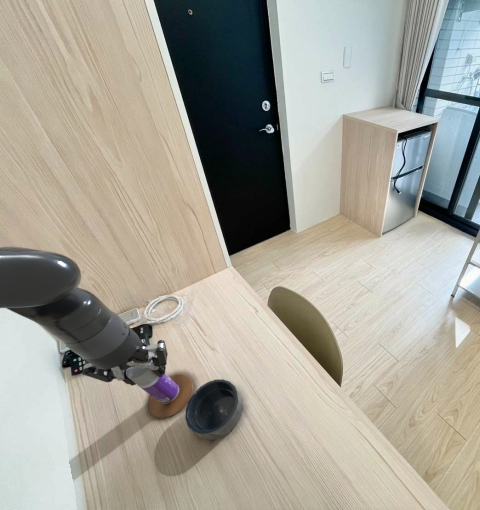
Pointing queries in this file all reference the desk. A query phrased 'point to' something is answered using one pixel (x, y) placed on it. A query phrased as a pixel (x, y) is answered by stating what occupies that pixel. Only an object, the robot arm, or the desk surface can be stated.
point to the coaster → (178, 403)
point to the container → (154, 384)
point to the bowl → (214, 409)
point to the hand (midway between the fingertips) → (148, 376)
